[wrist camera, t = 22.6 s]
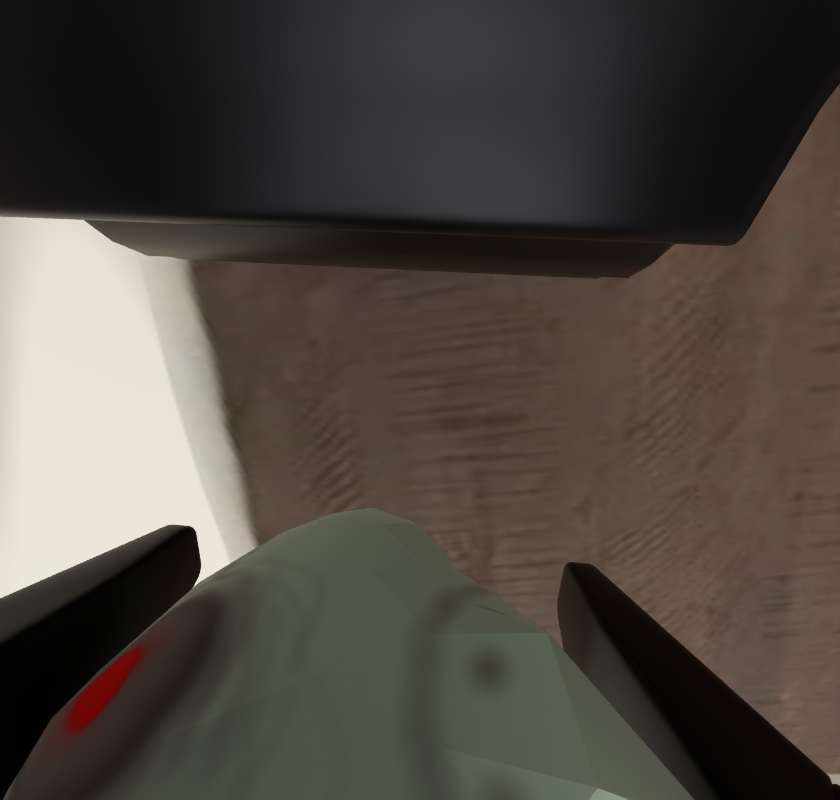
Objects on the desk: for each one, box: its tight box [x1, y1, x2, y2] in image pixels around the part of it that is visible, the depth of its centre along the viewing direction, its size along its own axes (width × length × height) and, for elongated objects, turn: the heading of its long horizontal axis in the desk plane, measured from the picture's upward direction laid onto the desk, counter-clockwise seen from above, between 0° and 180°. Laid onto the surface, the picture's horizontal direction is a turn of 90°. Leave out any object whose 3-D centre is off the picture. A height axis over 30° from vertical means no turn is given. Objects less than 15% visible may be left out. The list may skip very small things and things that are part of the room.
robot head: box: [3, 507, 694, 800], centre depth 5 cm, size 8×4×7 cm, turn 122°
